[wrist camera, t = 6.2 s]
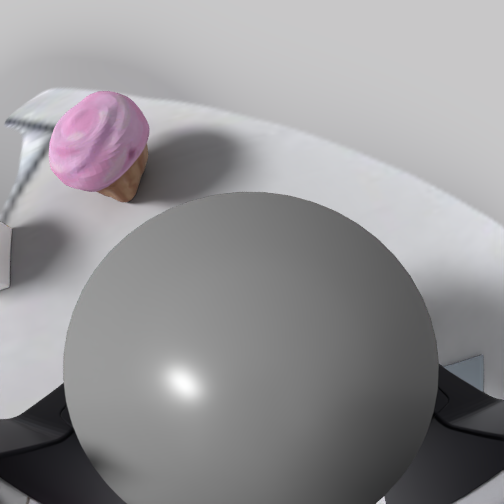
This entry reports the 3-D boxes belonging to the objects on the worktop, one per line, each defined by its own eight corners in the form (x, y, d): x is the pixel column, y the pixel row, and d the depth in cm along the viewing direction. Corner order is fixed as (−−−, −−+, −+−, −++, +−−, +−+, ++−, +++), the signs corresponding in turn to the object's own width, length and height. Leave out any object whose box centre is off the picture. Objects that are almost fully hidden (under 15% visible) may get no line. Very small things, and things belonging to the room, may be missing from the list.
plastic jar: (312, 404, 14) (424, 514, 3) (202, 409, 14) (90, 522, 3) (307, 297, 16) (411, 190, 5) (198, 302, 16) (75, 208, 5)
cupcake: (73, 205, 26) (16, 152, 16) (115, 137, 28) (77, 74, 19) (139, 232, 25) (84, 173, 15) (182, 153, 27) (155, 77, 18)
